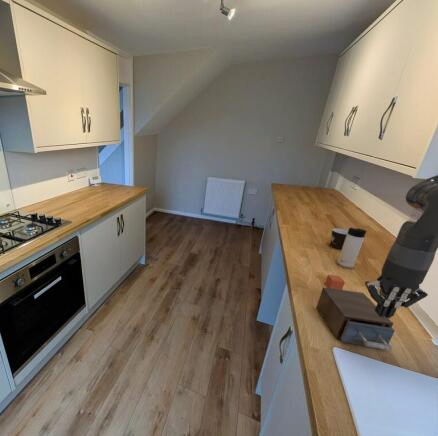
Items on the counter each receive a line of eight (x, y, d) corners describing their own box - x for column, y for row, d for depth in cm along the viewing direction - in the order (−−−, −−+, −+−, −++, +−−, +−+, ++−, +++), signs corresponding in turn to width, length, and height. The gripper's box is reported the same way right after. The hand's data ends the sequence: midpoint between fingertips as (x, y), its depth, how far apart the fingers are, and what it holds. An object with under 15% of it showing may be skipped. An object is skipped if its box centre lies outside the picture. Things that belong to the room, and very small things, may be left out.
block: (336, 284, 102) (339, 275, 101) (341, 290, 98) (344, 282, 97) (324, 283, 103) (327, 274, 102) (329, 289, 99) (332, 280, 98)
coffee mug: (327, 242, 141) (332, 227, 138) (345, 246, 137) (351, 230, 133) (327, 249, 132) (332, 233, 129) (347, 254, 128) (352, 237, 124)
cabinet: (382, 346, 73) (393, 323, 70) (336, 338, 75) (344, 316, 72) (355, 313, 86) (363, 292, 83) (316, 307, 89) (322, 287, 86)
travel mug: (340, 267, 115) (353, 230, 108) (335, 261, 121) (347, 225, 114) (355, 270, 113) (370, 232, 106) (350, 263, 119) (363, 226, 112)
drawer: (397, 363, 66) (407, 344, 64) (350, 355, 69) (359, 336, 66) (358, 317, 83) (365, 300, 81) (322, 311, 85) (328, 295, 83)
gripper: (386, 265, 58) (362, 321, 64) (454, 273, 55) (423, 330, 61) (367, 251, 65) (347, 302, 71) (427, 257, 62) (401, 310, 68)
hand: (382, 315), depth 66 cm, fingers closed
